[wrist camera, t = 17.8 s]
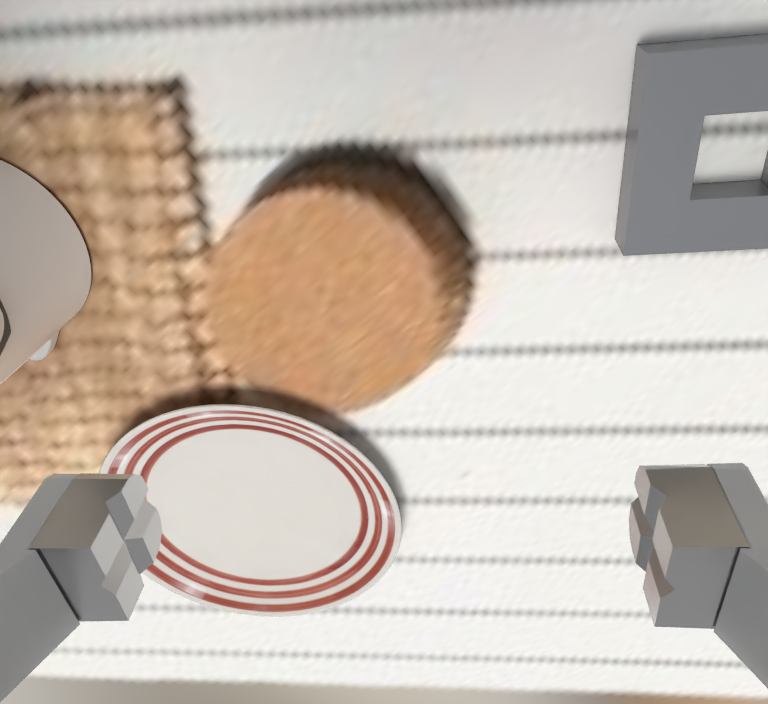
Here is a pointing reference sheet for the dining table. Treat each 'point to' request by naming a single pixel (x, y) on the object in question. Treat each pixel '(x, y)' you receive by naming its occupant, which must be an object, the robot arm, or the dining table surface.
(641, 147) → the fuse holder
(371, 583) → the dinner plate
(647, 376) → the dining table surface
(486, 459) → the dining table surface
